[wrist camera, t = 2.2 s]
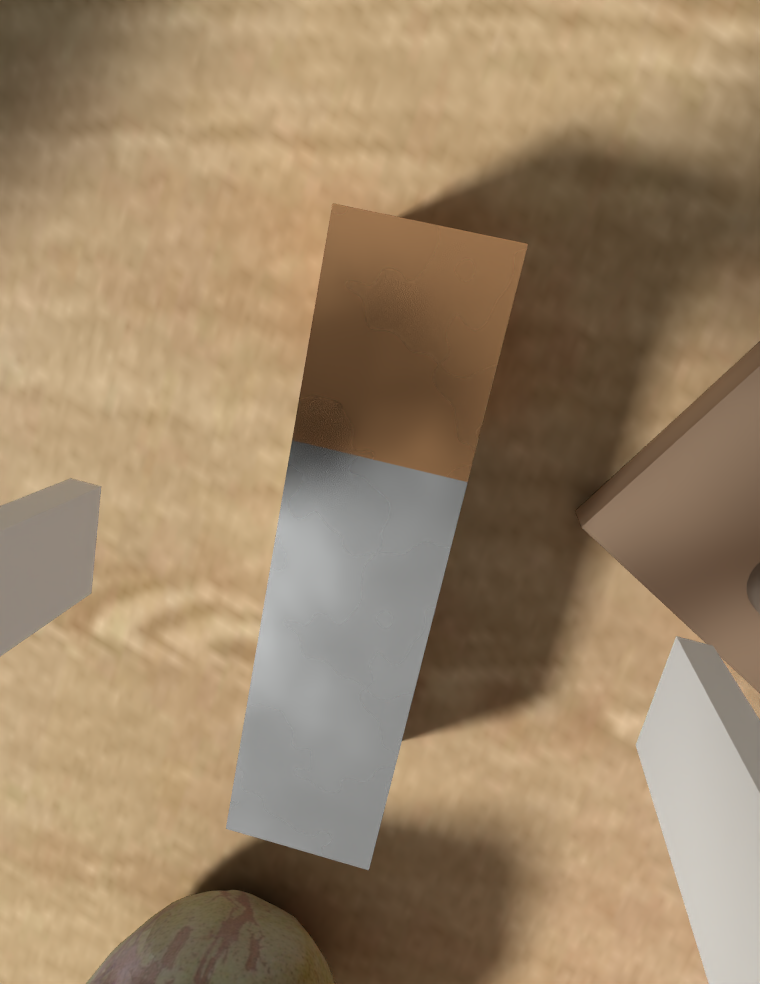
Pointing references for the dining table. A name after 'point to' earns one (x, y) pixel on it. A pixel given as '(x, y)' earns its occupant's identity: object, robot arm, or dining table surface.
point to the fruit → (217, 946)
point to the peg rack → (696, 516)
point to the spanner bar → (367, 521)
